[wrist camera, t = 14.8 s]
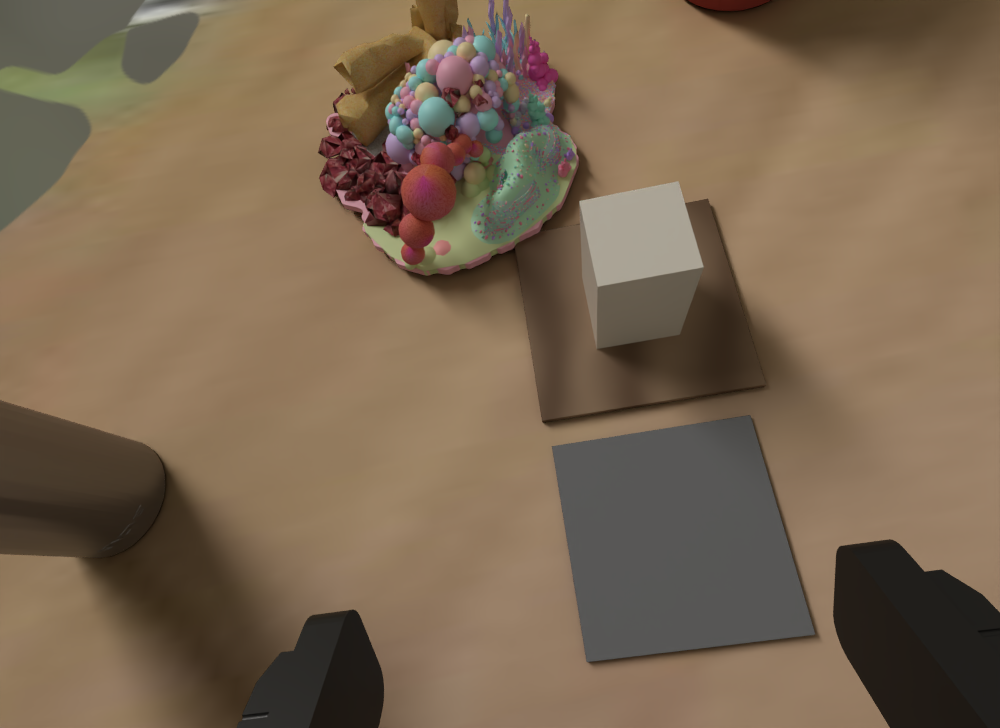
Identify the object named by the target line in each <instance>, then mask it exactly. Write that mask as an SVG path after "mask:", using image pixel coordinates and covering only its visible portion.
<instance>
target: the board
mask: <svg viewBox="0 0 1000 728" xmlns="http://www.w3.org/2000/svg"><path fill="white" fill-rule="evenodd" d="M685 205H686V209H687V212H688V216H689V219H690V222H691V226H692V229H693V233H694V236H695V239H696V243H697V246H698V250H699V253H700V256H701V260H702V263H703V267H704V268H703V271H702V273H701V276H700V279H699V282H698V285H697V287H696V290H695V293H694V296H693V299H692V302H691V304H690V307H689V310H688V313H687V316H686V319H685V321H684V324H683V327H682V330H681V333H680V335H675V336H669V337H664V338H658V339H652V340H646V341H641V342H635V343H629V344H623V345H617V346H612V347H606V348H600V349H597V348H596V343H595V338H594V333H593V328H592V323H591V318H590V314H589V309H588V304H587V299H586V294H585V289H584V284H583V279H582V258H581V232H580V224H576V225H571V226H566V227H561V228H556V229H551V230H546V231H540V232H539V233H537V234H534V235H532V236H531V237H529V238H526V239H524V240H523V241H520V242H518V243H517V244H516V245H515V251H516V258H517V264H518V270H519V277H520V283H521V290H522V296H523V302H524V309H525V315H526V321H527V328H528V334H529V340H530V347H531V353H532V359H533V366H534V372H535V379H536V385H537V391H538V398H539V404H540V410H541V417H542V422H543V423H544V422H550V421H556V420H562V419H569V418H575V417H581V416H587V415H593V414H599V413H606V412H612V411H618V410H624V409H630V408H636V407H643V406H649V405H655V404H661V403H667V402H673V401H680V400H686V399H692V398H698V397H704V396H711V395H717V394H723V393H729V392H735V391H741V390H748V389H754V388H760V387H764V386H765V385H766V382H765V379H764V376H763V373H762V369H761V366H760V363H759V360H758V357H757V353H756V350H755V347H754V344H753V341H752V337H751V334H750V331H749V328H748V325H747V322H746V318H745V315H744V312H743V309H742V306H741V302H740V299H739V296H738V293H737V290H736V287H735V283H734V280H733V277H732V274H731V271H730V267H729V264H728V261H727V258H726V255H725V251H724V248H723V245H722V242H721V239H720V236H719V232H718V229H717V226H716V223H715V220H714V216H713V213H712V210H711V207H710V204H709V201H708V199H704V200H699V201H694V202H689V203H685Z"/></svg>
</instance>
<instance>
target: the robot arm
mask: <svg viewBox="0 0 1000 728" xmlns="http://www.w3.org/2000/svg"><path fill="white" fill-rule="evenodd" d="M164 492H165V473H164V469H163V465H162V463H161V461H160V459H159V457H158V455H157V454H156V453H155V452H154V451H153V450H152V449H151V448H150V447H148V446H146V445H145V444H143V443H140V442H137V441H134V440H130V439H127V438H124V437H121V436H117V435H114V434H111V433H107V432H104V431H101V430H98V429H95V428H91V427H88V426H85V425H81V424H78V423H75V422H71V421H68V420H65V419H61V418H58V417H55V416H51V415H48V414H44V413H41V412H38V411H34V410H31V409H28V408H24V407H21V406H18V405H14V404H11V403H8V402H4V401H1V400H0V554H11V555H36V556H62V557H87V558H102V557H108V556H112V555H115V554H117V553H120V552H122V551H124V550H126V549H127V548H129V547H130V546H132V545H133V544H135V543H136V542H137V541H138V540H139V539H140V538H141V537H142V536H143V535H144V534H145V533H146V532H147V530H148V529H149V528H150V526H151V525H152V524H153V522H154V520H155V518H156V516H157V515H158V513H159V510H160V508H161V505H162V502H163V498H164ZM833 617H834V624H835V628H836V632H837V635H838V638H839V641H840V644H841V646H842V648H843V650H844V652H845V654H846V656H847V658H848V660H849V661H850V663H851V665H852V666H853V668H854V670H855V671H856V673H857V674H858V676H859V678H860V679H861V681H862V683H863V684H864V686H865V688H866V689H867V691H868V692H869V694H870V696H871V697H872V699H873V701H874V702H875V704H876V706H877V707H878V709H879V710H880V712H881V714H882V715H883V717H884V719H885V720H886V722H887V724H888V725H889V727H890V728H1000V612H999V611H998V610H997V609H996V608H995V607H994V606H993V605H992V604H991V603H990V602H989V601H988V600H987V599H986V598H985V597H984V596H983V595H982V594H981V593H979V592H977V591H976V590H974V589H972V588H971V587H969V586H968V585H966V584H964V583H963V582H961V581H959V580H958V579H956V578H955V577H953V576H951V575H950V574H948V573H946V572H945V571H943V570H935V571H927V572H924V571H923V569H922V568H921V567H920V566H919V565H918V564H917V563H916V562H915V560H914V559H913V558H912V557H911V556H910V555H909V554H908V553H907V551H906V550H905V549H904V548H903V547H902V546H901V545H900V544H899V543H897V542H896V541H894V540H890V539H889V540H882V541H874V542H867V543H859V544H852V545H845V546H840V547H839V548H838V550H837V553H836V568H835V588H834V608H833ZM383 701H384V683H383V675H382V670H381V667H380V665H379V662H378V660H377V657H376V655H375V652H374V650H373V647H372V645H371V642H370V640H369V637H368V635H367V632H366V630H365V628H364V625H363V623H362V620H361V618H360V616H359V614H358V612H357V611H355V610H348V611H340V612H333V613H326V614H318V615H312V616H310V617H309V618H308V619H307V621H306V622H305V625H304V627H303V629H302V632H301V634H300V637H299V639H298V642H297V644H296V647H295V649H294V651H289V652H281V653H280V654H279V655H278V657H277V658H276V659H275V660H274V662H273V663H272V664H271V665H270V666H269V668H268V669H267V670H266V671H265V673H264V674H263V675H262V676H261V678H260V679H259V680H258V681H257V683H256V685H255V687H254V690H253V692H252V694H251V696H250V699H249V701H248V703H247V705H246V708H245V710H244V712H243V714H242V716H243V719H242V721H241V722H239V723H238V725H237V728H378V727H379V722H380V718H381V713H382V708H383Z"/></svg>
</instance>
